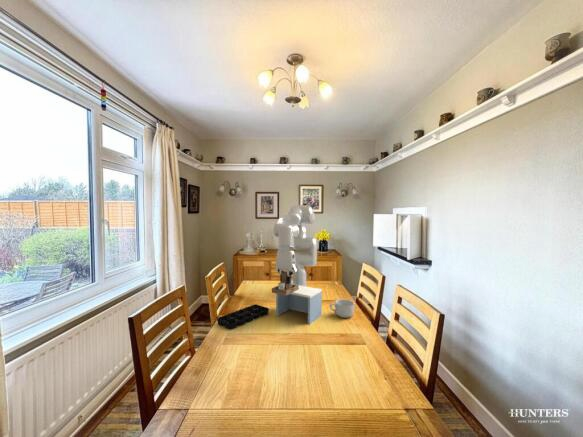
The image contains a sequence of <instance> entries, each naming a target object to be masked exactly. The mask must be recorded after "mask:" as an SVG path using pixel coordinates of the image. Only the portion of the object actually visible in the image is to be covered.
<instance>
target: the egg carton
mask: <svg viewBox="0 0 583 437" xmlns="http://www.w3.org/2000/svg"><path fill="white" fill-rule="evenodd" d="M269 311H270V308H268V307H266V306H263V305H259V304H257V303H256V304H252V305H250V306H245V307H244V308H240V309H238V310H235V311H233V312H230V313H227V314H224V315H222V316H219V317H217V318H216V322H217V325H218V326H221V327H225V329H227V330H230V331H232V330H235V329H237V328H238V327H241V326H244V325H245V324H246V323H252V322H253V321H254V320H258V319H260V318H262V317H266V316H268V315H269Z"/></svg>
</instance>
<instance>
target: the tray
mask: <svg viewBox="0 0 583 437" xmlns="http://www.w3.org/2000/svg"><path fill="white" fill-rule="evenodd" d="M286 277H287V270H284V272H282V282H278V283H277V286H274V287H272V288H271V293H273V294H276V293H277V294H282V295H288V294H290V293H292V292H294V291H297V290H299V285H293V278H291V283H289V284H286Z"/></svg>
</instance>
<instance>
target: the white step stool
mask: <svg viewBox="0 0 583 437" xmlns="http://www.w3.org/2000/svg"><path fill="white" fill-rule="evenodd" d="M292 284H293V283H292ZM293 285H294V284H293ZM322 291H323V289H322V288H316V287H310V286H307V285H306V286H300V285H299V290H297V291H294V292H292V293H290V294H288V295H282V294H277V293H275V298H276V299H275V316H277V317H279V316H281V315H282V314H283V313H286V312H287V311H289V310H291V311H297V312H301V313H305V314H307V324H308V325H311V324H312V323H313V322H315V321H316V320H318V319H319V318H320V317H322V314H323V312H322V301H323V300H322V296H323V294H322V293H323V292H322Z"/></svg>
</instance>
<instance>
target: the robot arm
mask: <svg viewBox="0 0 583 437" xmlns="http://www.w3.org/2000/svg"><path fill="white" fill-rule="evenodd" d="M315 220H316V215H315V212H314V209H313V207H312V206H310V205H308V204H307V205H306V204H304V205H303V204H302V205H301V204H300V205H299V204H297V205H296V204H295V205H293V206H291V208H290V209H289V211H288V214H286V215H284V216H281V217H280V218H278V219H277V220H276V221H275V223H274V226H273V228H272V229H273V230H272V233H273V236H275V237H277V238H278V250H277V253H276V260H275V265H276V266H275V267H274V270H276V272H277V274H279V278H280V280H279V281H280V282H282V272H284V271H286V272H287V277H286V284H289V283H291V279H292V284H294V285H300V286H306V287H307V271H306V269H305V268H304V267H315V266H316V265H317V262H318V241H317V238H316V237H314V236H307V228H306V227H305V225H311V224H314V223H315ZM294 250H298V251H296V252H295V251H294ZM308 251H309V252H308ZM280 282H279V283H280Z"/></svg>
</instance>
